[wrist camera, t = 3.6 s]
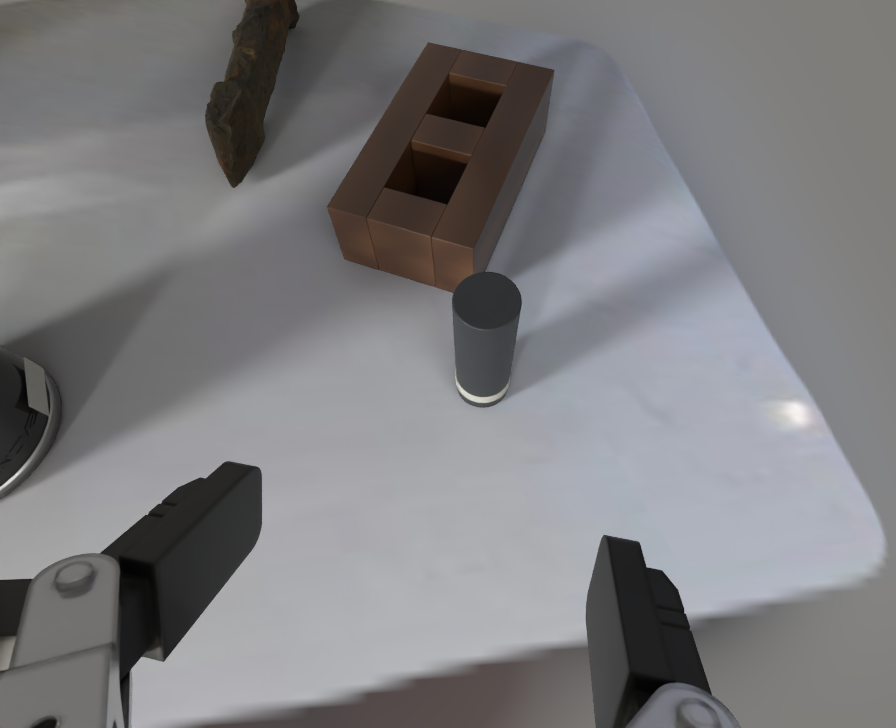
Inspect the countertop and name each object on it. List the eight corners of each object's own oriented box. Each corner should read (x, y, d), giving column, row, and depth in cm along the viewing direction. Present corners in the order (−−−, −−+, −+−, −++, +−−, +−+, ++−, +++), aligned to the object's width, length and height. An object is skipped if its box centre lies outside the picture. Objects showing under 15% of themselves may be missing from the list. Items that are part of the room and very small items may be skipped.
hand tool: (258, 25, 47) (237, -34, 43) (303, 25, 47) (286, -34, 43) (199, 192, 39) (166, 140, 35) (253, 194, 39) (227, 141, 34)
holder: (344, 259, 36) (326, 206, 31) (432, 104, 42) (427, 41, 37) (473, 299, 34) (473, 249, 30) (545, 131, 40) (554, 69, 36)
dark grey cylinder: (447, 398, 31) (440, 318, 23) (466, 353, 32) (465, 262, 24) (499, 416, 31) (509, 340, 23) (516, 369, 32) (532, 281, 24)
